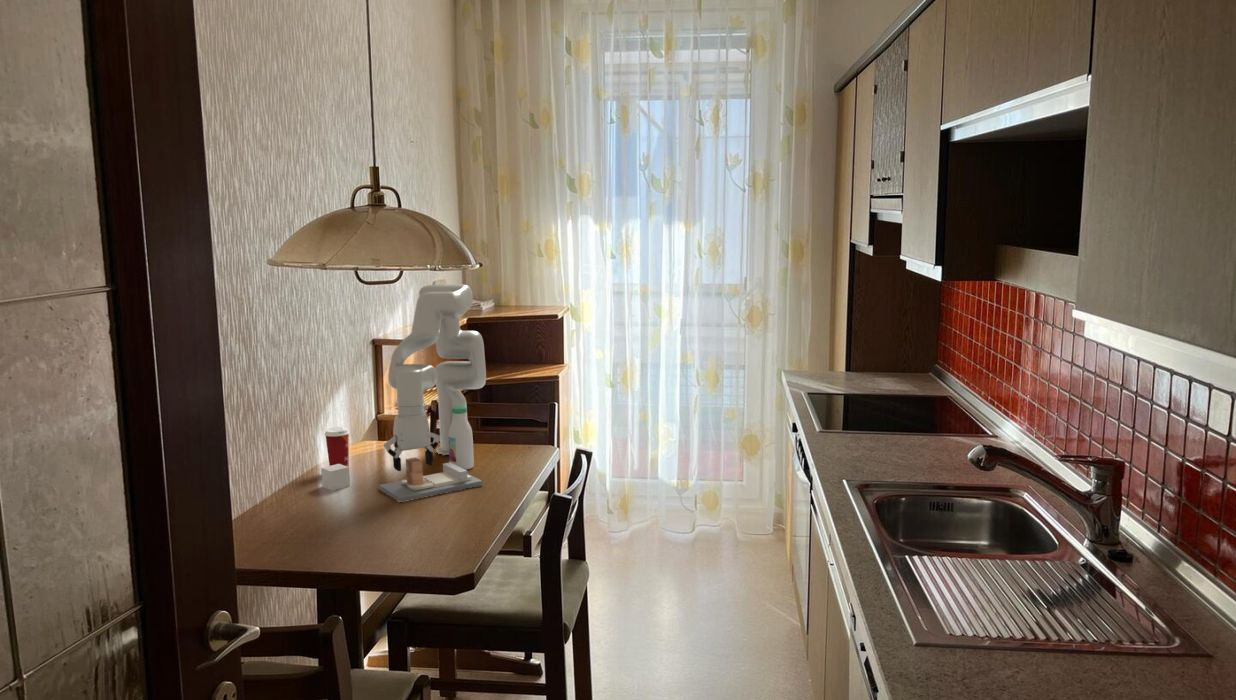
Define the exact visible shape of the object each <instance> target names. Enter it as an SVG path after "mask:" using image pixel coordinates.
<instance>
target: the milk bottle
mask: <svg viewBox="0 0 1236 700" xmlns="http://www.w3.org/2000/svg"><path fill="white" fill-rule="evenodd" d="M452 414H453V420H452V423H451V426H450V429H449V456H448V457H449V458H448V459H449V462H450V463H452V464H454V465H456V466H458V467H461V468H463V469H465V470H467V471H468V470H471V469H472V468H474V466H475V461H474V460H475V459H474V440H473V429H472V427H471V424H470V423H469V420H468V416H467V417H466V414H467V415H468V407H467V408H466V407H464V406H457V407H453V408H452Z"/></svg>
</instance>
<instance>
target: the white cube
mask: <svg viewBox="0 0 1236 700" xmlns="http://www.w3.org/2000/svg"><path fill="white" fill-rule="evenodd" d="M320 472H321V485H322V486H321V487H322V488H324V489H328V490H329V491H336V490H339V489H343V488H347V487H351V479H350V478H351V477H350V476H351V475H350V467H347V466H344V465H341V464H336V465H331V466H323V467H321V468H320Z"/></svg>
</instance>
